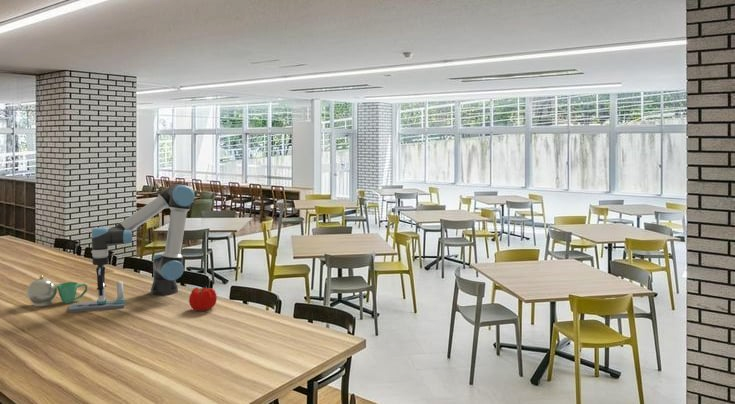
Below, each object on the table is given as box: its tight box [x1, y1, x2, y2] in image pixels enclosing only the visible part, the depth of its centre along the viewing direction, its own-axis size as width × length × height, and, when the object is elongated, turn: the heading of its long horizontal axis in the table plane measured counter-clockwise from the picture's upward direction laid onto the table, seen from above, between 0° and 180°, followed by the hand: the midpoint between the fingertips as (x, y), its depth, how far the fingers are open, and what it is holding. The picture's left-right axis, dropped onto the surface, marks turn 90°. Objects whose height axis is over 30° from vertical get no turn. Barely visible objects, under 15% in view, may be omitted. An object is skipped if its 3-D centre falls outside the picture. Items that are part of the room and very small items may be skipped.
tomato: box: [188, 287, 218, 312], centre depth 279 cm, size 13×14×12 cm
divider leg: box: [96, 283, 108, 304], centre depth 282 cm, size 4×3×11 cm
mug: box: [56, 281, 88, 304], centre depth 292 cm, size 15×10×10 cm
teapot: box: [26, 274, 58, 308], centre depth 284 cm, size 18×14×16 cm
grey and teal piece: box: [67, 281, 126, 313], centre depth 282 cm, size 26×12×12 cm, turn 111°
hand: (101, 300), depth 283 cm, fingers closed on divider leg, 3 cm apart
